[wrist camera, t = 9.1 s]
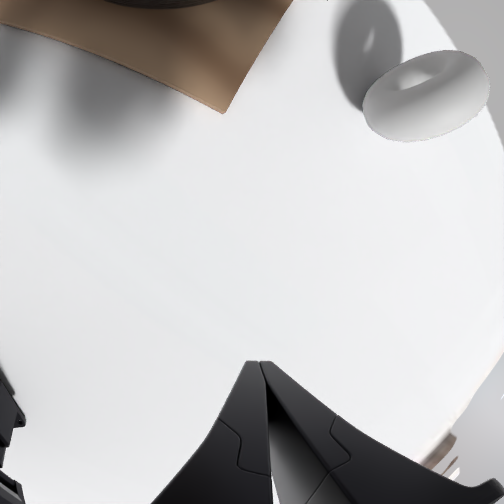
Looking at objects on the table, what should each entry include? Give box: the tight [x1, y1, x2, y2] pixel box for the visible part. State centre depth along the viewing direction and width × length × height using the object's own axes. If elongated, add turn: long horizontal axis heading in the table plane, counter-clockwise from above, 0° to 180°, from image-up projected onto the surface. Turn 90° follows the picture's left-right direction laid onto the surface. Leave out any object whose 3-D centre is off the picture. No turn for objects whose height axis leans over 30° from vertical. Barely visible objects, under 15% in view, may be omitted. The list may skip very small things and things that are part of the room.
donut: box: [362, 50, 490, 142], centre depth 17 cm, size 10×4×10 cm, turn 133°
